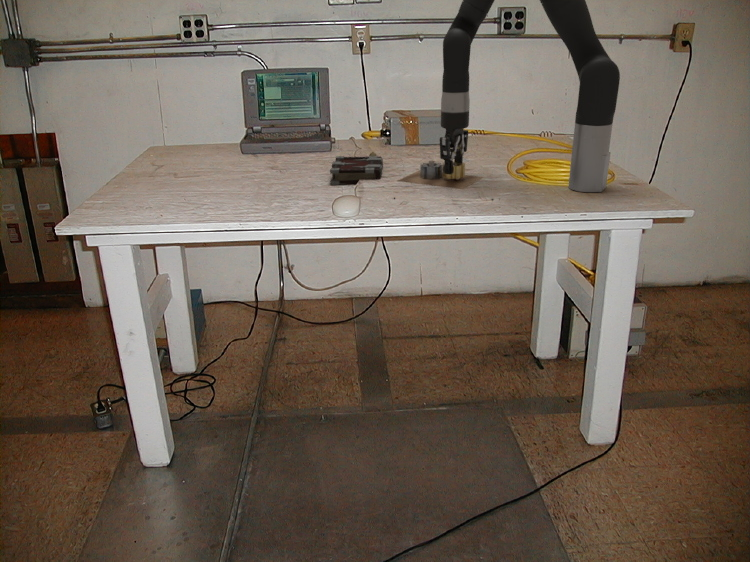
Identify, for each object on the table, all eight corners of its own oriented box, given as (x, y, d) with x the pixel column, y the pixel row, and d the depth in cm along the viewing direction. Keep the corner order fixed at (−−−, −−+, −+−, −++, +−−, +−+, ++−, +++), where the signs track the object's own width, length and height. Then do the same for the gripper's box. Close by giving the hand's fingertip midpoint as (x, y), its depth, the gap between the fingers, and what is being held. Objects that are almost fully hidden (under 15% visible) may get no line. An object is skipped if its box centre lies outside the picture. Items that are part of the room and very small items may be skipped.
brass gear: (468, 175, 173) (468, 162, 172) (459, 179, 168) (459, 167, 167) (448, 172, 176) (448, 160, 175) (438, 177, 171) (438, 165, 170)
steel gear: (442, 174, 178) (443, 162, 177) (441, 179, 173) (442, 167, 171) (421, 174, 179) (421, 162, 178) (419, 179, 174) (419, 167, 172)
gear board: (483, 182, 175) (484, 161, 172) (463, 194, 164) (464, 172, 161) (419, 175, 184) (419, 154, 182) (397, 186, 173) (396, 164, 171)
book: (329, 186, 176) (328, 168, 174) (338, 166, 199) (337, 150, 197) (381, 185, 175) (381, 168, 173) (384, 165, 198) (383, 149, 196)
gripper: (457, 113, 158) (455, 178, 164) (478, 106, 169) (476, 167, 176) (430, 112, 161) (429, 175, 168) (453, 104, 172) (451, 164, 179)
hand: (453, 171), depth 172 cm, fingers closed on brass gear, 6 cm apart
